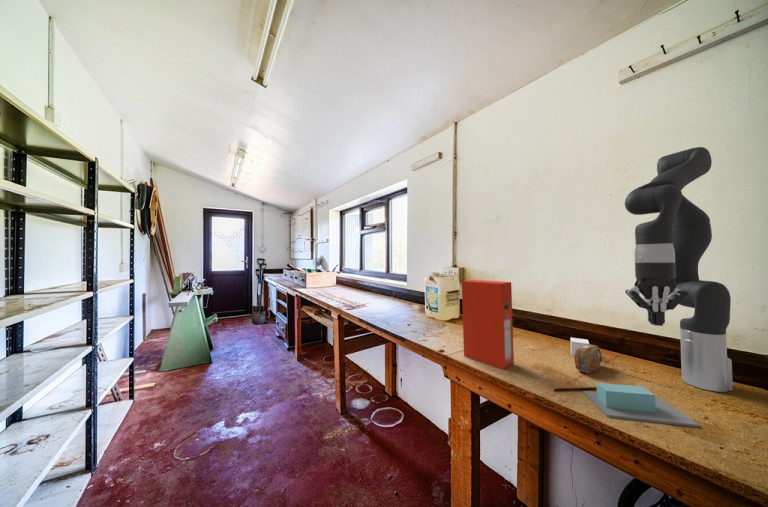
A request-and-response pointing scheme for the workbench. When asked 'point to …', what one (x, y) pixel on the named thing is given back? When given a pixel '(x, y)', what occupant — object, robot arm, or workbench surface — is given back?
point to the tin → (587, 358)
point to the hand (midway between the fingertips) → (656, 324)
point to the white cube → (577, 344)
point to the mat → (645, 413)
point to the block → (626, 397)
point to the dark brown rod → (575, 389)
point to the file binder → (488, 322)
